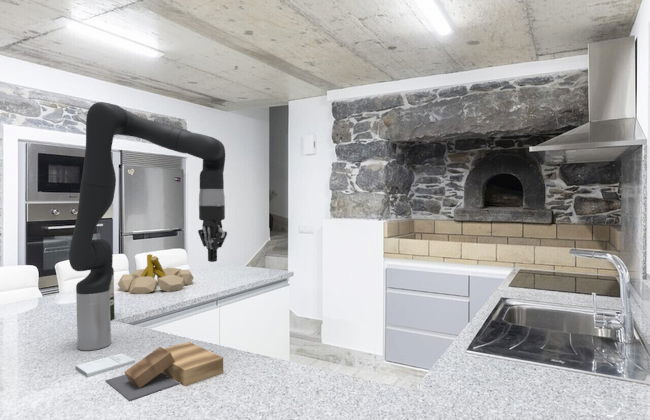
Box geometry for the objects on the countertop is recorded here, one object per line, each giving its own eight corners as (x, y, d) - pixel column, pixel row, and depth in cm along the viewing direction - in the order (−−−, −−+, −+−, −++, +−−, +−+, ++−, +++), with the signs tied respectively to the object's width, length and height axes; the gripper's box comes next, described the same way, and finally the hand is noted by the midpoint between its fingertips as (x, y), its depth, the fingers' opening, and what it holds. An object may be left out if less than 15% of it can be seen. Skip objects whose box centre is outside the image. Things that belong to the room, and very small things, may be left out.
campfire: (141, 280, 238) (140, 250, 238) (200, 280, 237) (200, 250, 236) (106, 294, 203) (105, 259, 203) (176, 295, 202) (175, 259, 201)
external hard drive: (75, 371, 116) (121, 357, 125) (87, 379, 110) (134, 364, 120) (75, 365, 116) (121, 352, 125) (87, 373, 110) (134, 359, 120)
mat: (105, 381, 108) (105, 380, 108) (152, 367, 117) (152, 366, 117) (129, 401, 98) (129, 399, 97) (178, 384, 106) (178, 383, 106)
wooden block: (152, 366, 118) (152, 351, 117) (189, 355, 126) (189, 341, 125) (184, 386, 105) (184, 370, 105) (223, 372, 113) (223, 357, 113)
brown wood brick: (164, 355, 114) (129, 381, 107) (159, 346, 113) (124, 371, 106) (175, 361, 110) (139, 388, 103) (170, 352, 109) (134, 379, 102)
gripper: (189, 204, 131) (190, 260, 131) (212, 204, 121) (213, 265, 122) (211, 203, 136) (211, 257, 137) (235, 204, 127) (235, 262, 127)
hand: (212, 261), depth 129 cm, fingers closed
